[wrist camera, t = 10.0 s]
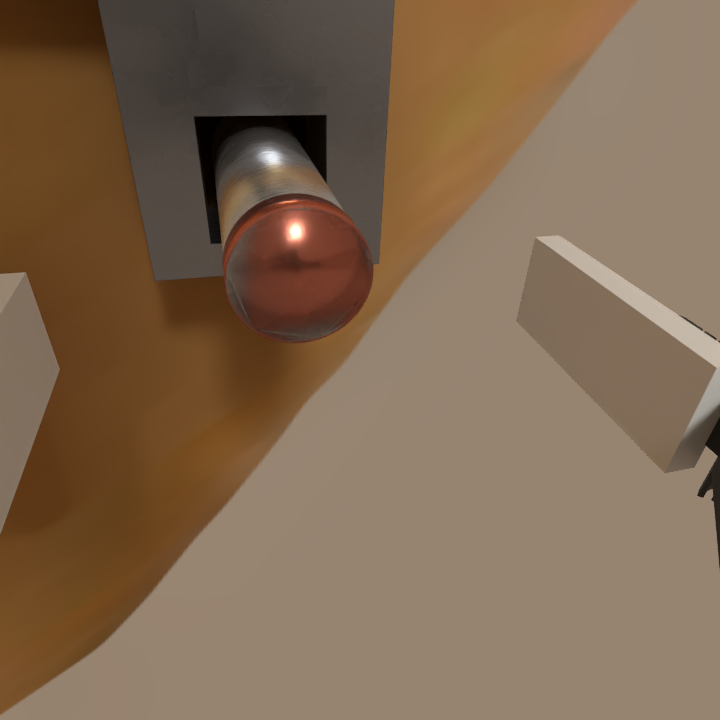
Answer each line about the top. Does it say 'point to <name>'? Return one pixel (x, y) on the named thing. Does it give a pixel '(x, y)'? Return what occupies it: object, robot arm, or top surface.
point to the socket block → (247, 104)
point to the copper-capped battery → (284, 235)
